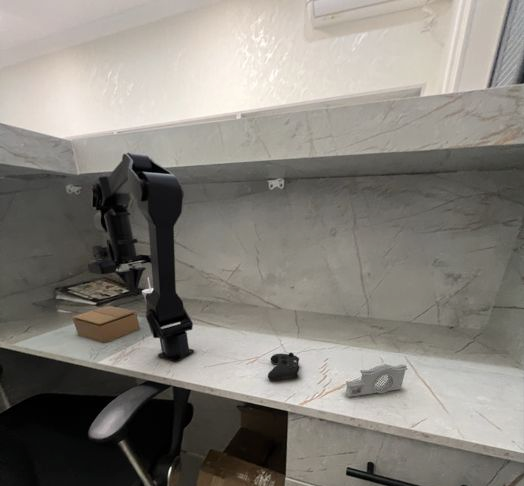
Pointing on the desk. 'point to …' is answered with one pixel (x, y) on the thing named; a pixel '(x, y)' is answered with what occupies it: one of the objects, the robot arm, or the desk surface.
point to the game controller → (284, 366)
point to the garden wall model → (373, 377)
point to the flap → (95, 317)
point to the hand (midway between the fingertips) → (133, 294)
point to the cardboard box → (109, 325)
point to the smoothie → (147, 289)
